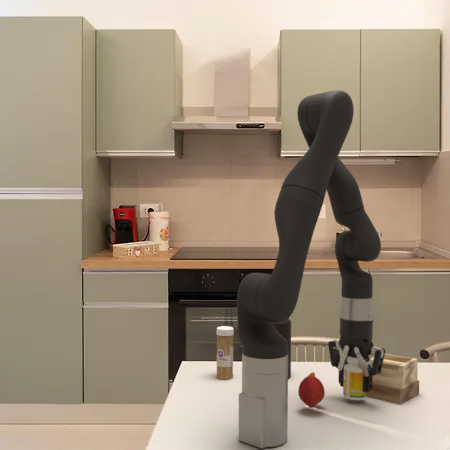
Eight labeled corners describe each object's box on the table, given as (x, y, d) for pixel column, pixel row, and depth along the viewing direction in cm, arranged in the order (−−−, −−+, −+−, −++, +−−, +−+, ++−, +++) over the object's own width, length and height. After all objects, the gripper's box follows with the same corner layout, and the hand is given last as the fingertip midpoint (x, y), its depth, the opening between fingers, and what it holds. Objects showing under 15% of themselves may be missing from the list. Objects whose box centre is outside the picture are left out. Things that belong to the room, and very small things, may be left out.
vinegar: (277, 382, 151) (277, 305, 150) (260, 376, 156) (260, 302, 156) (296, 378, 155) (296, 303, 154) (279, 372, 160) (279, 299, 160)
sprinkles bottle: (213, 379, 154) (213, 328, 153) (219, 374, 158) (220, 325, 158) (230, 381, 152) (230, 329, 152) (235, 376, 156) (236, 326, 156)
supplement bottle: (338, 396, 137) (339, 355, 136) (352, 392, 140) (353, 352, 140) (357, 402, 132) (357, 360, 132) (371, 397, 136) (372, 356, 136)
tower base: (399, 407, 134) (400, 389, 134) (361, 397, 141) (361, 380, 141) (419, 397, 142) (419, 380, 141) (381, 388, 148) (381, 372, 148)
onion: (304, 413, 128) (304, 376, 128) (294, 404, 134) (294, 369, 134) (328, 410, 130) (329, 374, 130) (317, 402, 135) (318, 368, 135)
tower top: (402, 388, 135) (403, 366, 135) (366, 381, 140) (366, 360, 140) (417, 380, 142) (417, 358, 142) (382, 373, 147) (382, 353, 147)
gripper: (321, 314, 138) (320, 385, 138) (376, 322, 128) (375, 399, 129) (338, 310, 144) (337, 379, 144) (392, 318, 134) (391, 392, 134)
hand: (355, 388), depth 136 cm, fingers closed on supplement bottle, 5 cm apart
